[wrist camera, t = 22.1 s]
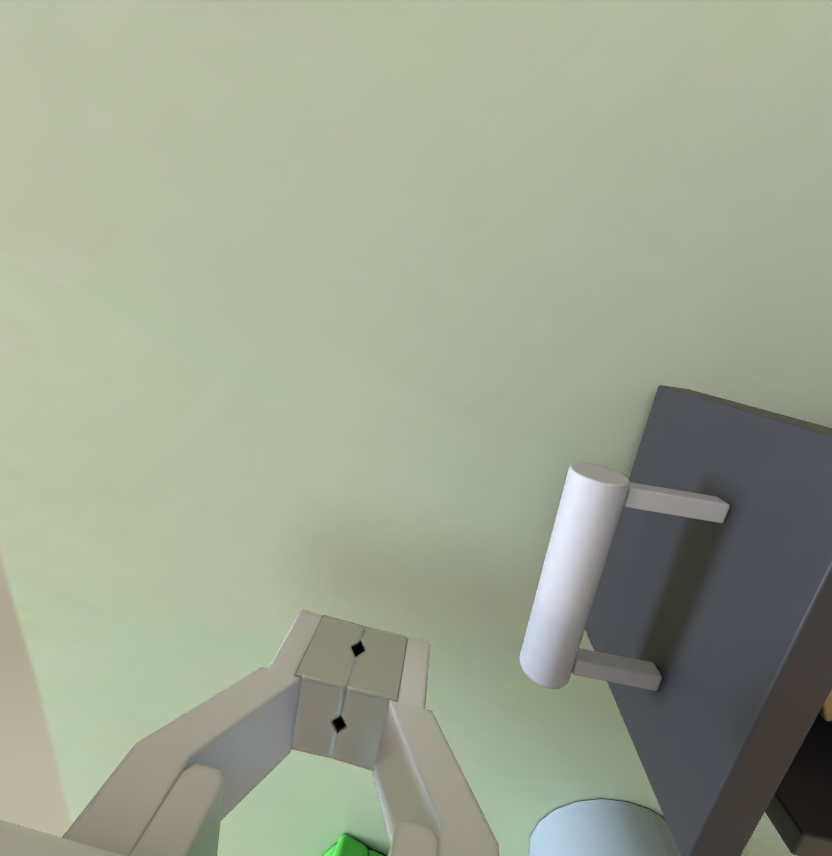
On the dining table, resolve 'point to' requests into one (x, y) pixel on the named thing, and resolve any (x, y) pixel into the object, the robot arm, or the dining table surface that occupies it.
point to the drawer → (705, 616)
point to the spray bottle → (602, 831)
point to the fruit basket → (349, 848)
